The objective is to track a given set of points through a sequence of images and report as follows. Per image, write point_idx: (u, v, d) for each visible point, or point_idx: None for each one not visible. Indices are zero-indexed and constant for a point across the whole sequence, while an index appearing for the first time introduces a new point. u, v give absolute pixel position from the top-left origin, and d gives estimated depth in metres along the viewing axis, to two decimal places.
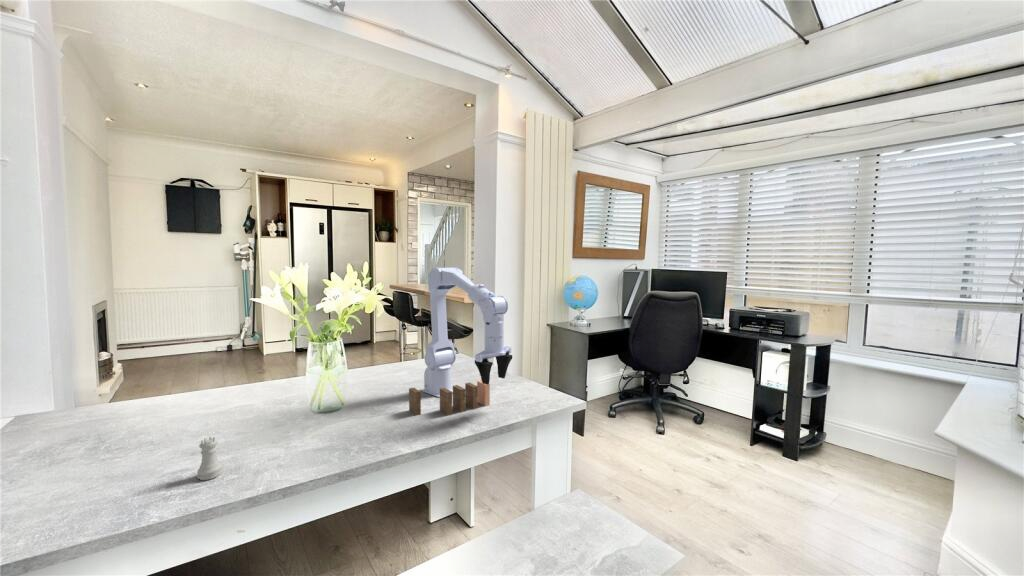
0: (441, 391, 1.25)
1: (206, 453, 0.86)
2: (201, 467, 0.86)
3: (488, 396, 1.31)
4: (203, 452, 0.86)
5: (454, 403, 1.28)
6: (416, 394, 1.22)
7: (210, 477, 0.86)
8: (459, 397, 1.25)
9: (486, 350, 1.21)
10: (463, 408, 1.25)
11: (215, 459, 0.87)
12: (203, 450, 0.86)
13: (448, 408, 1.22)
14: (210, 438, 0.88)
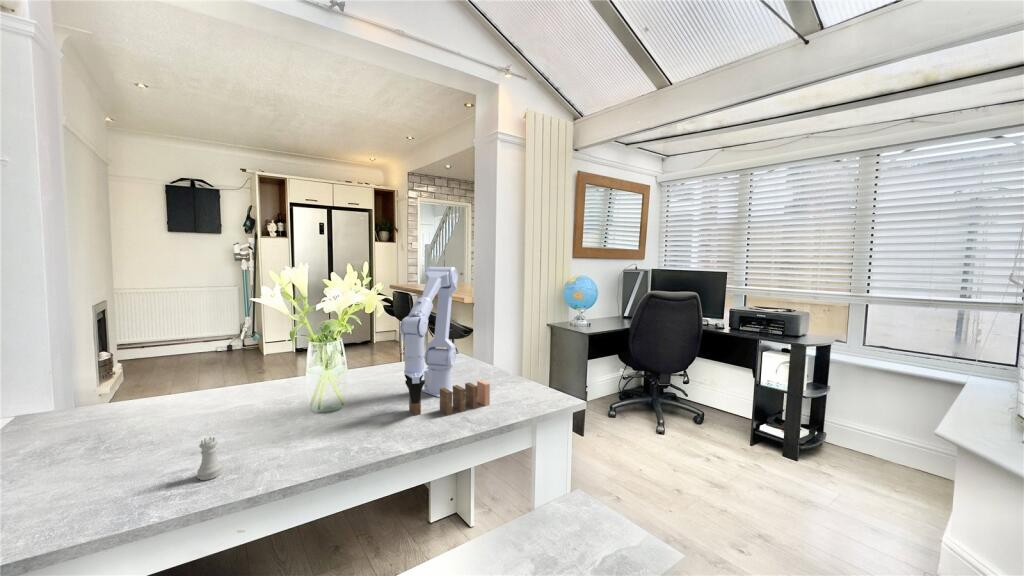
0: (441, 391, 1.25)
1: (206, 453, 0.86)
2: (201, 467, 0.86)
3: (488, 396, 1.31)
4: (203, 452, 0.86)
5: (454, 403, 1.28)
6: None
7: (210, 477, 0.86)
8: (459, 397, 1.25)
9: (412, 371, 1.21)
10: (463, 408, 1.25)
11: (215, 459, 0.87)
12: (203, 450, 0.86)
13: (448, 408, 1.22)
14: (210, 438, 0.88)
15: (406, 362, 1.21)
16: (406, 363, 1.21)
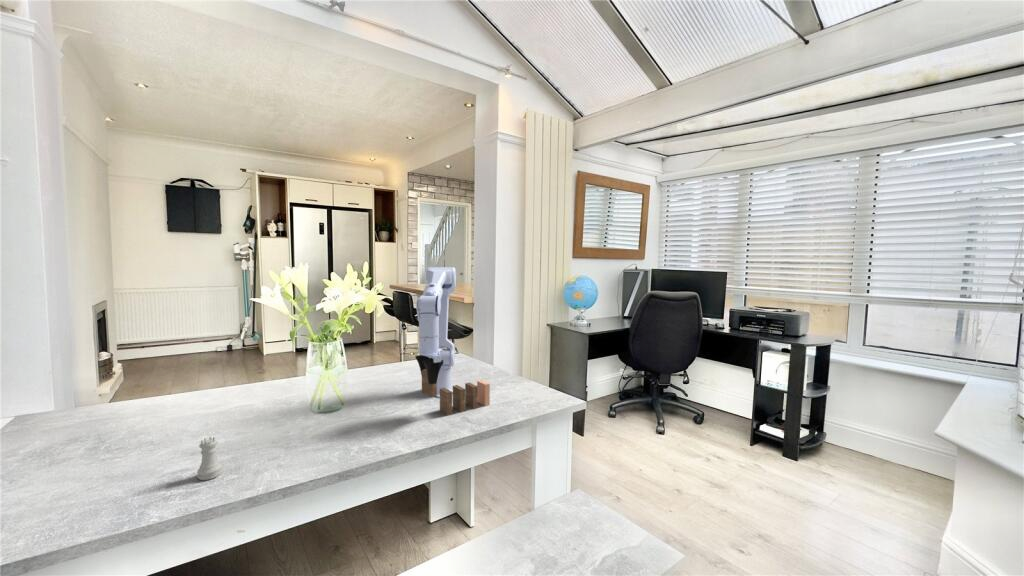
0: (441, 391, 1.25)
1: (206, 453, 0.86)
2: (201, 467, 0.86)
3: (488, 396, 1.31)
4: (203, 452, 0.86)
5: (454, 403, 1.28)
6: None
7: (210, 477, 0.86)
8: (459, 397, 1.25)
9: (430, 351, 1.18)
10: (463, 408, 1.25)
11: (215, 459, 0.87)
12: (203, 450, 0.86)
13: (448, 408, 1.22)
14: (210, 438, 0.88)
15: (422, 342, 1.18)
16: (422, 343, 1.18)
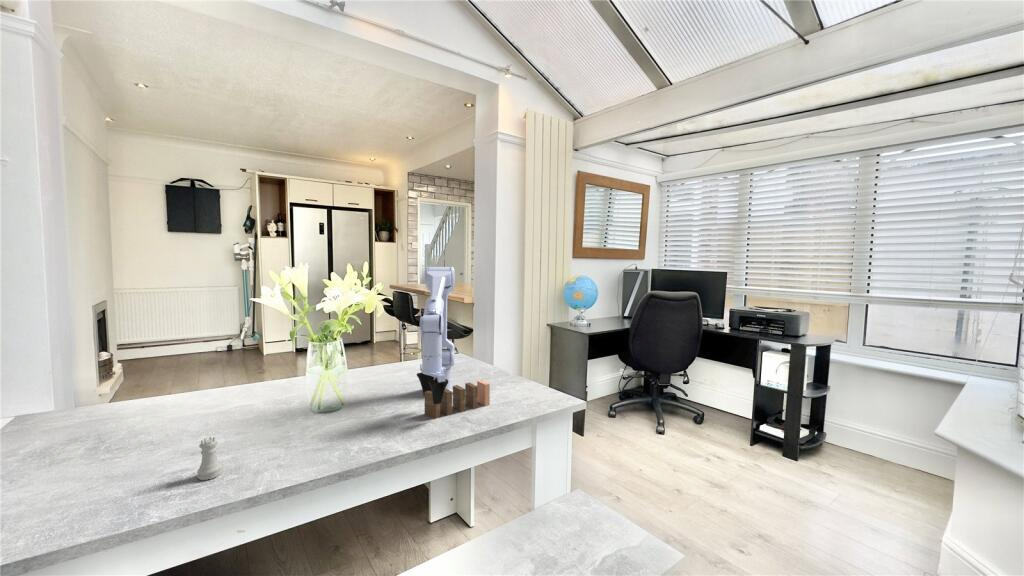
0: None
1: (206, 453, 0.86)
2: (201, 467, 0.86)
3: (488, 396, 1.31)
4: (203, 452, 0.86)
5: (454, 403, 1.28)
6: None
7: (210, 477, 0.86)
8: (459, 397, 1.25)
9: (433, 370, 1.18)
10: (463, 408, 1.25)
11: (215, 459, 0.87)
12: (203, 450, 0.86)
13: (448, 408, 1.22)
14: (210, 438, 0.88)
15: (426, 361, 1.18)
16: (426, 362, 1.18)
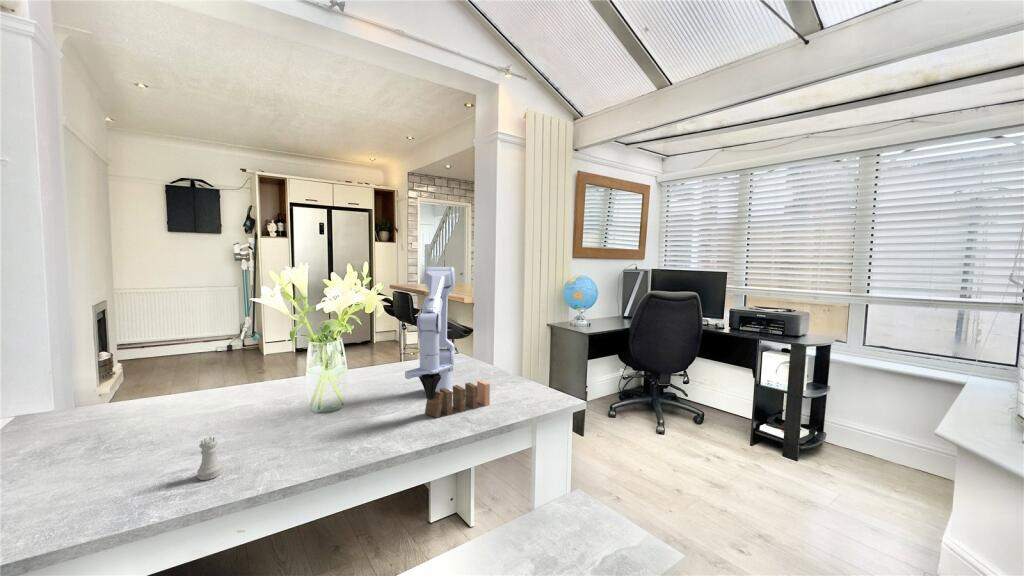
0: (441, 391, 1.25)
1: (206, 453, 0.86)
2: (201, 467, 0.86)
3: (488, 396, 1.31)
4: (203, 452, 0.86)
5: (454, 403, 1.28)
6: (440, 395, 1.21)
7: (210, 477, 0.86)
8: (459, 397, 1.25)
9: (420, 367, 1.19)
10: (463, 408, 1.25)
11: (215, 459, 0.87)
12: (203, 450, 0.86)
13: (448, 408, 1.22)
14: (210, 438, 0.88)
15: None
16: None
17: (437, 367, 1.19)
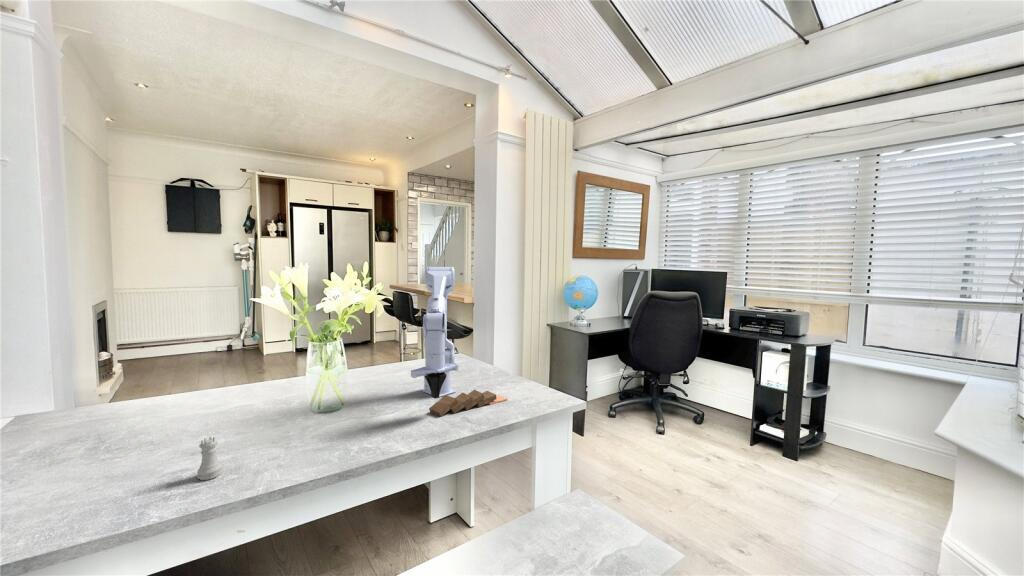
0: (463, 394, 1.30)
1: (206, 453, 0.86)
2: (201, 467, 0.86)
3: None
4: (203, 452, 0.86)
5: None
6: (455, 400, 1.25)
7: (210, 477, 0.86)
8: (476, 397, 1.29)
9: (425, 366, 1.20)
10: (469, 407, 1.27)
11: (215, 459, 0.87)
12: (203, 450, 0.86)
13: (458, 406, 1.24)
14: (210, 438, 0.88)
15: None
16: None
17: (443, 366, 1.20)
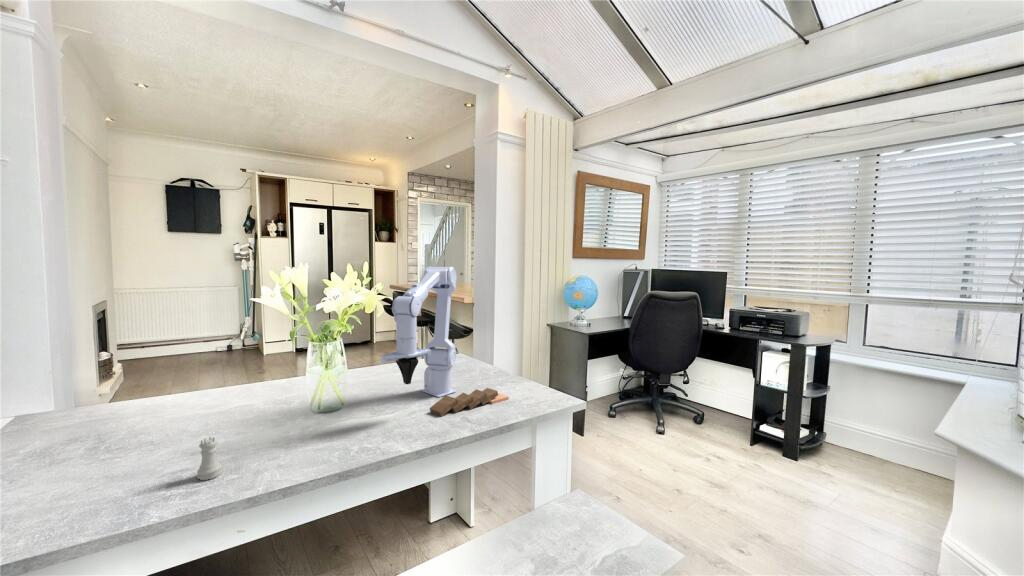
0: (463, 394, 1.30)
1: (206, 453, 0.86)
2: (201, 467, 0.86)
3: None
4: (203, 452, 0.86)
5: None
6: (455, 400, 1.25)
7: (210, 477, 0.86)
8: (479, 396, 1.30)
9: None
10: (473, 406, 1.28)
11: (215, 459, 0.87)
12: (203, 450, 0.86)
13: (460, 405, 1.25)
14: (210, 438, 0.88)
15: None
16: None
17: (414, 351, 1.17)
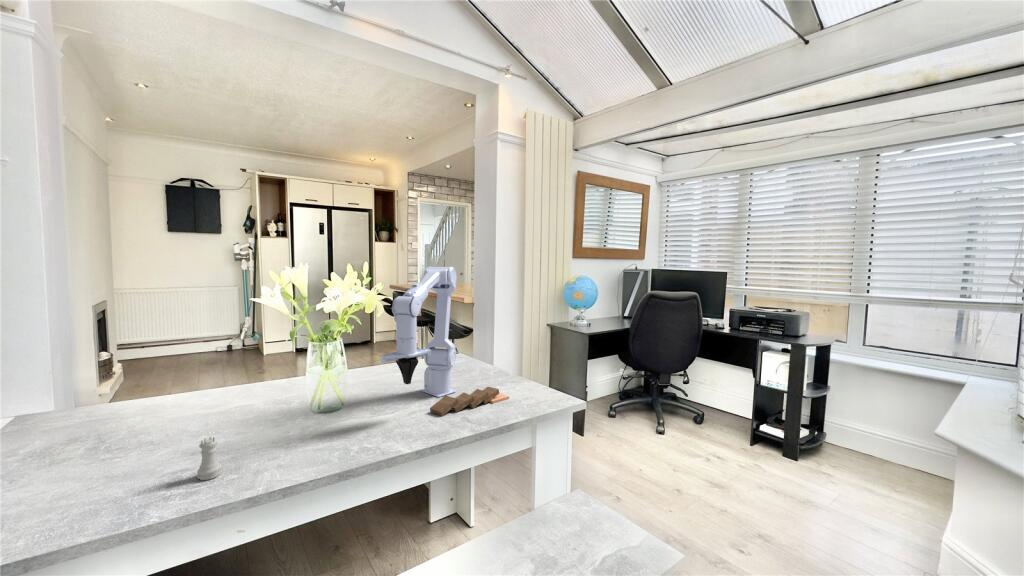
0: (464, 394, 1.31)
1: (206, 453, 0.86)
2: (201, 467, 0.86)
3: None
4: (203, 452, 0.86)
5: None
6: (455, 400, 1.26)
7: (210, 477, 0.86)
8: (481, 395, 1.30)
9: None
10: (475, 405, 1.28)
11: (215, 459, 0.87)
12: (203, 450, 0.86)
13: (461, 405, 1.25)
14: (210, 438, 0.88)
15: None
16: None
17: (414, 351, 1.17)
